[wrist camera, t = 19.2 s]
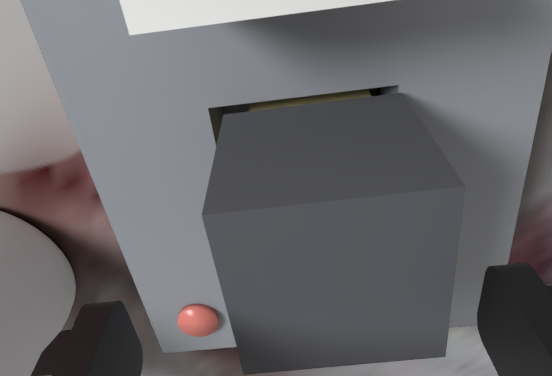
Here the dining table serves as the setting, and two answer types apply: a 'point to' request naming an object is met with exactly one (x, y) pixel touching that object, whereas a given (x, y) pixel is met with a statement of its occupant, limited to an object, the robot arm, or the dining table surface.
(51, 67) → the socket
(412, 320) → the plug
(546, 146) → the dining table surface
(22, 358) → the pill bottle
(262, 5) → the white l-shaped bracket
